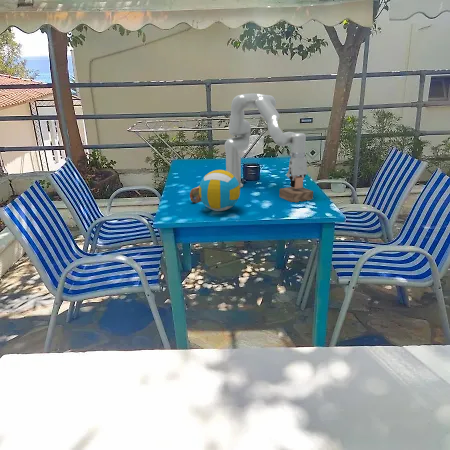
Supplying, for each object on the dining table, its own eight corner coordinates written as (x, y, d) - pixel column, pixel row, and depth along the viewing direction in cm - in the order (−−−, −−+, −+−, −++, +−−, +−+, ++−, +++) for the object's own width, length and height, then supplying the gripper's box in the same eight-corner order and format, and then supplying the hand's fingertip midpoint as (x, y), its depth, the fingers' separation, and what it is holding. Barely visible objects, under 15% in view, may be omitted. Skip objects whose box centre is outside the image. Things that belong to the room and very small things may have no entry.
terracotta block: (295, 188, 239) (296, 178, 237) (290, 186, 243) (291, 176, 241) (302, 187, 241) (303, 177, 239) (297, 185, 246) (298, 175, 244)
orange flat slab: (193, 204, 235) (193, 190, 232) (189, 203, 236) (188, 189, 233) (208, 198, 247) (208, 184, 244) (204, 197, 248) (203, 183, 245)
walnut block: (292, 202, 236) (293, 194, 234) (279, 196, 248) (279, 188, 246) (312, 199, 242) (313, 191, 240) (298, 193, 254) (299, 185, 252)
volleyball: (234, 218, 211) (234, 176, 204) (193, 214, 217) (192, 173, 210) (244, 205, 231) (244, 167, 224) (206, 202, 237) (205, 165, 229)
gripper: (289, 157, 229) (288, 189, 236) (314, 155, 236) (312, 185, 243) (281, 155, 236) (280, 186, 242) (306, 153, 243) (304, 183, 249)
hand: (296, 185), depth 242 cm, fingers closed on terracotta block, 5 cm apart
